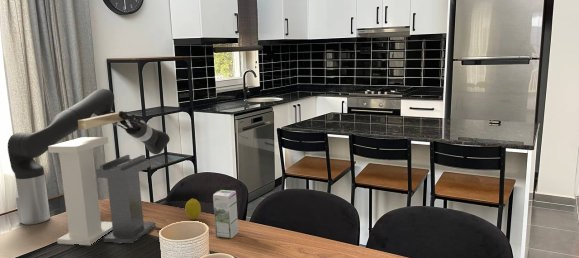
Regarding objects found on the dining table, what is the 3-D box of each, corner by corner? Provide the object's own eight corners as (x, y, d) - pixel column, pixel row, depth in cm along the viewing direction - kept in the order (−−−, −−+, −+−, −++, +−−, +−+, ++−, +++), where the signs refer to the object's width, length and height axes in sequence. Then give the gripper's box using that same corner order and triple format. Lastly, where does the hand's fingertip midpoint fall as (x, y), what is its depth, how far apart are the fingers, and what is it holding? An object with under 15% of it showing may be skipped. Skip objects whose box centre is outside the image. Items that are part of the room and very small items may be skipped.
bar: (78, 129, 143) (77, 120, 143) (120, 119, 166) (119, 111, 166) (86, 129, 143) (85, 120, 142) (127, 119, 166) (126, 111, 165)
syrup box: (239, 232, 143) (236, 190, 141) (231, 239, 138) (228, 195, 136) (223, 230, 145) (221, 188, 143) (215, 237, 140) (212, 194, 138)
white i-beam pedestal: (57, 243, 140) (45, 146, 135) (89, 225, 155) (79, 137, 150) (90, 245, 137) (79, 146, 132) (119, 226, 153) (110, 137, 148)
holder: (103, 242, 139) (95, 165, 135) (129, 225, 154) (122, 154, 150) (132, 244, 137) (124, 165, 133) (155, 226, 152) (149, 155, 148)
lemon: (203, 216, 159) (201, 195, 158) (198, 222, 154) (197, 200, 152) (188, 216, 160) (187, 196, 158) (183, 222, 154) (182, 200, 153)
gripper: (125, 121, 179) (100, 104, 163) (156, 120, 176) (134, 103, 161) (121, 138, 177) (96, 122, 161) (153, 138, 174) (130, 122, 158)
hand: (115, 113), depth 161 cm, fingers closed on bar, 3 cm apart
